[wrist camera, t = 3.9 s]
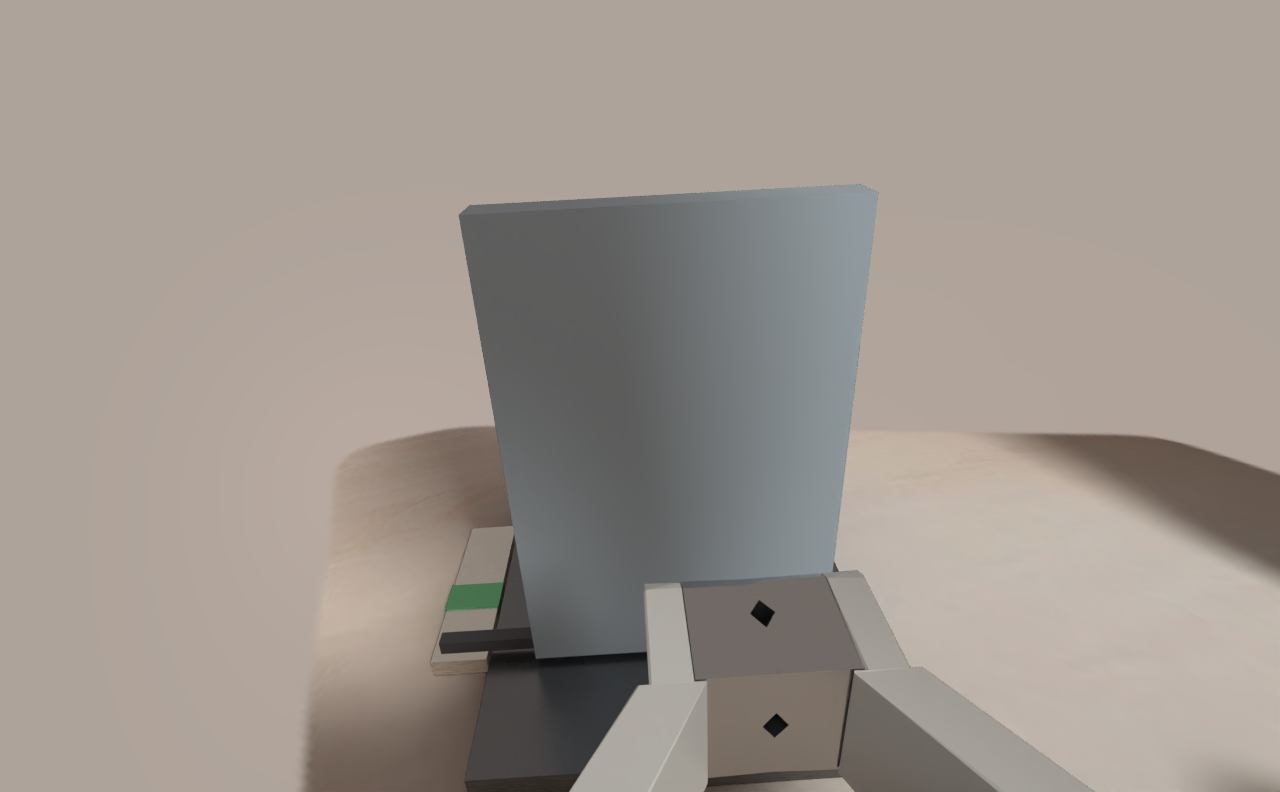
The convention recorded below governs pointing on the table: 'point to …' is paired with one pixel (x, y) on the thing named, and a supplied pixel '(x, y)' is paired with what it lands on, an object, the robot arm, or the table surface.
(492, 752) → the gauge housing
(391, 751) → the table surface
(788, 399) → the grey upright panel
